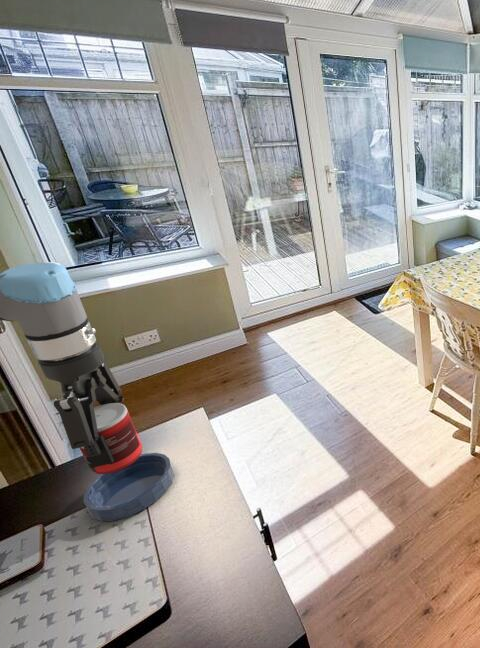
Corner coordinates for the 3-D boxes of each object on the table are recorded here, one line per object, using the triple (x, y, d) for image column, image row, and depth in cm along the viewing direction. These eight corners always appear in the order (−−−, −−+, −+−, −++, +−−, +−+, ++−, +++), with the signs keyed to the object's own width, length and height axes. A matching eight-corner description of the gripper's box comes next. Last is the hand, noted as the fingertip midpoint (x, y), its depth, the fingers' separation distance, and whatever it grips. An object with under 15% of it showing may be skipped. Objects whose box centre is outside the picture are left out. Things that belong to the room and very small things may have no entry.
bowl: (77, 533, 77) (70, 520, 76) (105, 476, 88) (99, 464, 87) (165, 507, 82) (160, 495, 81) (181, 456, 93) (177, 445, 92)
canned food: (102, 449, 84) (82, 407, 79) (150, 439, 86) (133, 398, 82) (82, 480, 77) (59, 436, 73) (134, 469, 80) (116, 426, 75)
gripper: (69, 381, 64) (117, 483, 73) (117, 317, 81) (152, 407, 90) (2, 392, 61) (61, 498, 70) (67, 324, 78) (108, 416, 87)
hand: (112, 446), depth 80 cm, fingers closed on canned food, 8 cm apart
